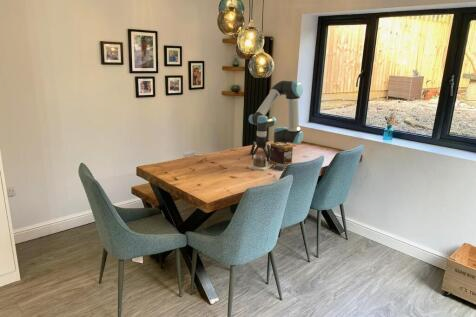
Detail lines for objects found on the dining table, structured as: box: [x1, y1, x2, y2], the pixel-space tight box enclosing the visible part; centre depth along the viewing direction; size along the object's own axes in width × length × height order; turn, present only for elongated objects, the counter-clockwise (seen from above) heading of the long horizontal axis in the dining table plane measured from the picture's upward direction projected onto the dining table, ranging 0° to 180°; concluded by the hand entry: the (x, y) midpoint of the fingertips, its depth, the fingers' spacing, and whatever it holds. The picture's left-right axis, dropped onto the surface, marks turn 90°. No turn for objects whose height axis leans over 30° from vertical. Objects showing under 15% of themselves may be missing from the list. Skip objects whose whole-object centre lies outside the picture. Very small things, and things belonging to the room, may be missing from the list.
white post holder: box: [247, 155, 273, 172], centre depth 281 cm, size 14×14×9 cm
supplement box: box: [269, 142, 294, 166], centre depth 293 cm, size 10×15×16 cm
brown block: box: [252, 155, 266, 168], centre depth 281 cm, size 8×8×6 cm
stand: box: [273, 163, 287, 172], centre depth 279 cm, size 7×7×3 cm
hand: (260, 164), depth 282 cm, fingers open, 10 cm apart
